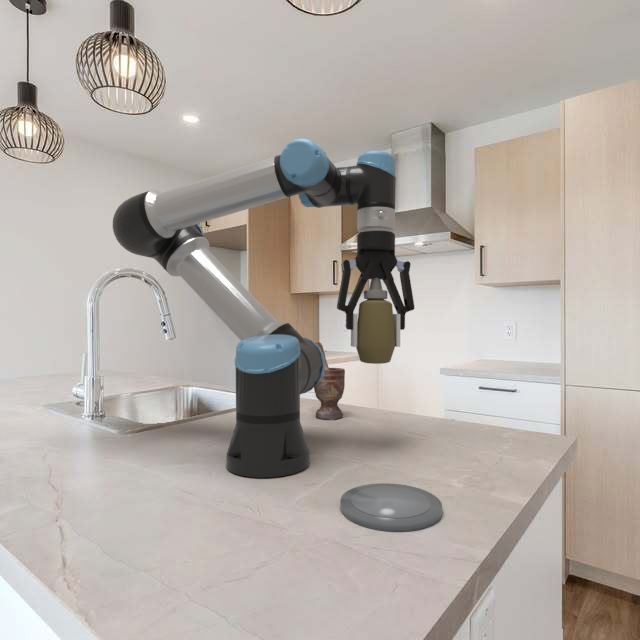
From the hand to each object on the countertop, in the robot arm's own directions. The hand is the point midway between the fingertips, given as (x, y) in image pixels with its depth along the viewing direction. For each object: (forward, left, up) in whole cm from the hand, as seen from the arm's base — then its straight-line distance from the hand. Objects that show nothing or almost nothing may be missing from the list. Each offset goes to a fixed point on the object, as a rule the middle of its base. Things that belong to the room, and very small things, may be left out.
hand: (375, 346), depth 92 cm
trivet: (+1, -28, -21) cm, 35 cm away
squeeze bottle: (0, 0, -3) cm, 3 cm away
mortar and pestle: (-13, +32, -21) cm, 41 cm away
